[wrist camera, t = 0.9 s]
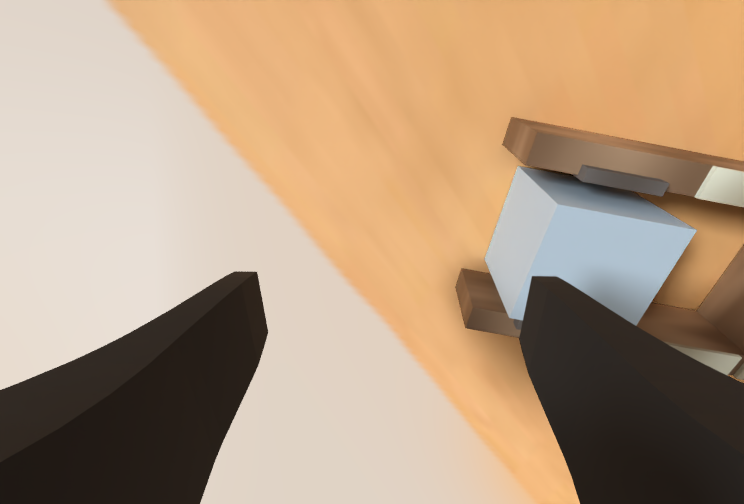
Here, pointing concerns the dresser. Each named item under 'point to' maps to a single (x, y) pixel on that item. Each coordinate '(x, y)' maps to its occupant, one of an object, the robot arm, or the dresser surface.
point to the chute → (646, 175)
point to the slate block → (583, 242)
